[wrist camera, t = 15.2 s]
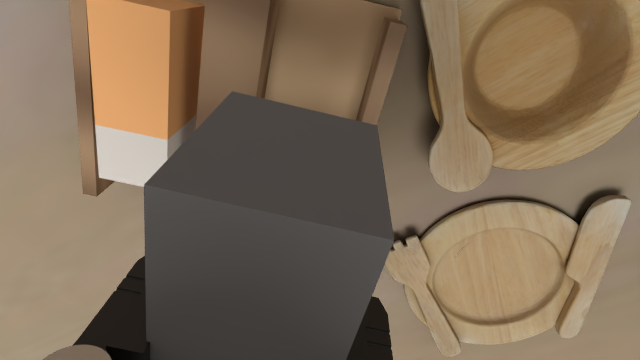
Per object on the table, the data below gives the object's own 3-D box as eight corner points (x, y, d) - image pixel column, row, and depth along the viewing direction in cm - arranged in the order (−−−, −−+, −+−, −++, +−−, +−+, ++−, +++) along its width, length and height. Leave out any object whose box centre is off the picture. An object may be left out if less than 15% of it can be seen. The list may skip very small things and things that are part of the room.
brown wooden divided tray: (113, -63, 20) (63, -73, 17) (400, 8, 21) (411, 14, 17) (119, 171, 26) (83, 200, 23) (338, 220, 27) (336, 255, 24)
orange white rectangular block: (137, -10, 20) (85, -9, 16) (204, 5, 20) (170, 11, 16) (139, 145, 24) (99, 177, 20) (195, 157, 24) (166, 191, 20)
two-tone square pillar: (231, 91, 9) (144, 184, 5) (376, 125, 9) (393, 240, 6) (206, 332, 14) (148, 480, 10) (305, 353, 14) (286, 507, 10)
